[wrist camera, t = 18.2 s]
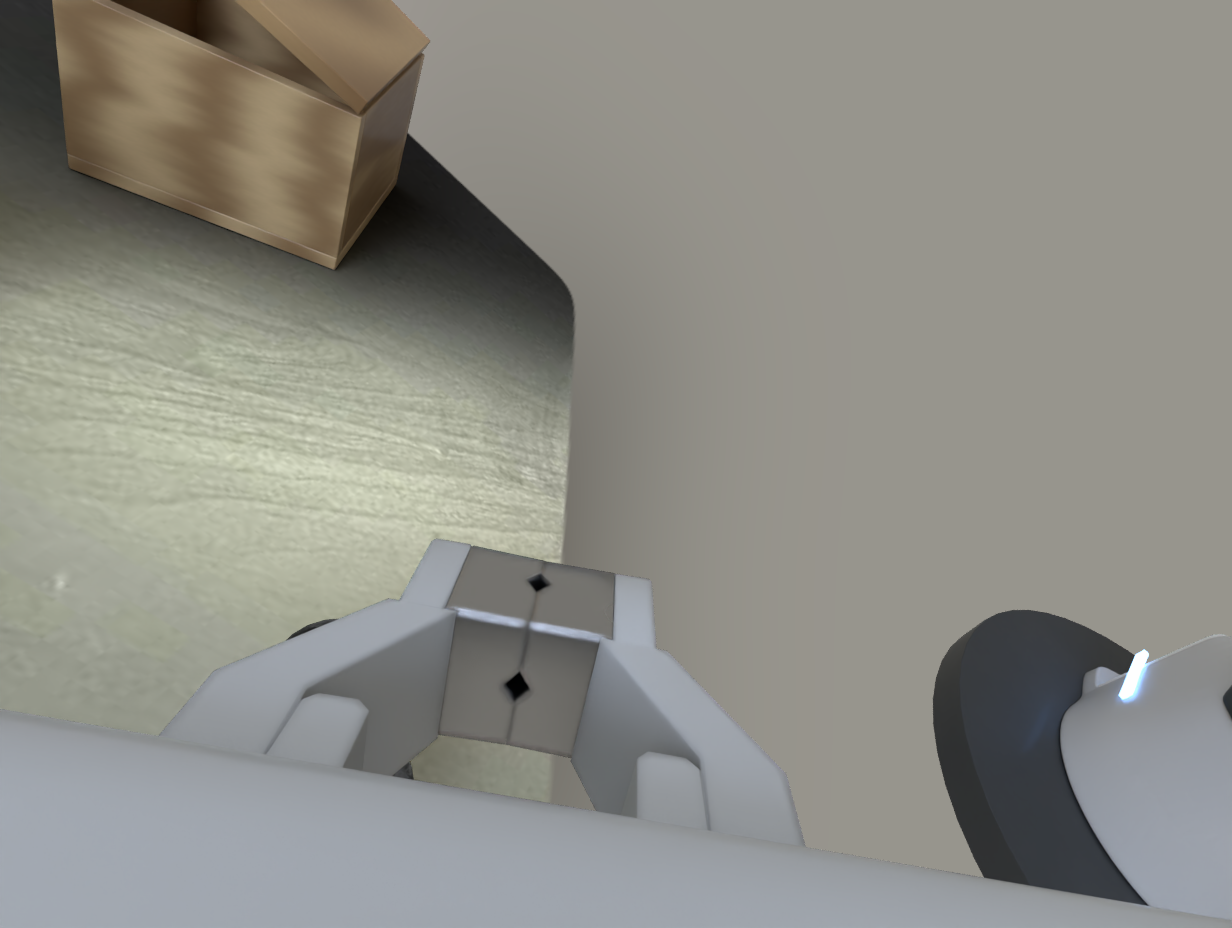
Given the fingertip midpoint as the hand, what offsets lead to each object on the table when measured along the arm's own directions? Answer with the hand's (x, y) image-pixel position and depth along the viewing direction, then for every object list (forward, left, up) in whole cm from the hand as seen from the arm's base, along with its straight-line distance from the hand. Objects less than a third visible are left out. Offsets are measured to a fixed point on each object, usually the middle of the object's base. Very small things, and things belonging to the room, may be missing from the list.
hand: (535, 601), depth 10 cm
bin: (+17, -36, -16) cm, 43 cm away
